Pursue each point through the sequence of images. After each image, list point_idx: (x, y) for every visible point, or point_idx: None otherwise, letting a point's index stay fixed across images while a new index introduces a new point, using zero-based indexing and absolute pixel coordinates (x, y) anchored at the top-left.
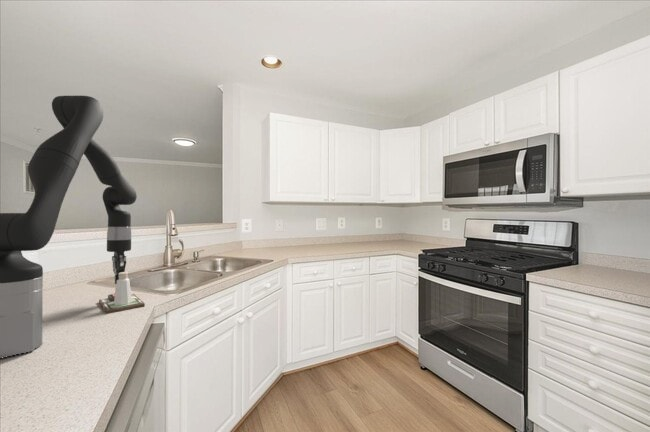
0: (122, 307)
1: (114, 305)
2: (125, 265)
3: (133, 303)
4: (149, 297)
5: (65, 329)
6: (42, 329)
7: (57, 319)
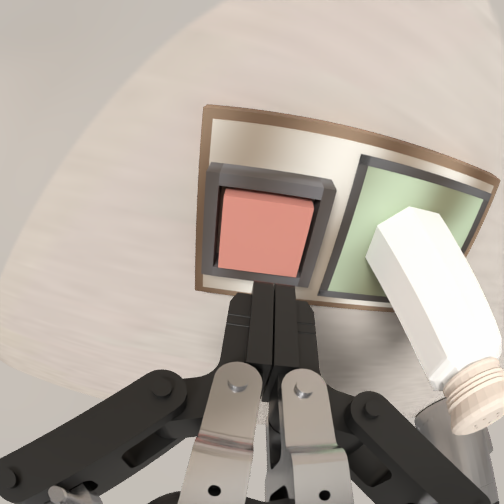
0: None
1: None
2: (466, 478)
3: (464, 218)
4: (345, 44)
5: None
6: None
7: (332, 385)
